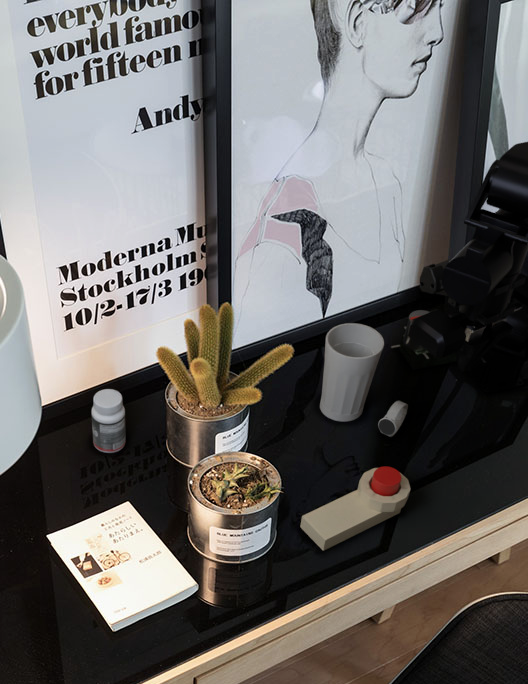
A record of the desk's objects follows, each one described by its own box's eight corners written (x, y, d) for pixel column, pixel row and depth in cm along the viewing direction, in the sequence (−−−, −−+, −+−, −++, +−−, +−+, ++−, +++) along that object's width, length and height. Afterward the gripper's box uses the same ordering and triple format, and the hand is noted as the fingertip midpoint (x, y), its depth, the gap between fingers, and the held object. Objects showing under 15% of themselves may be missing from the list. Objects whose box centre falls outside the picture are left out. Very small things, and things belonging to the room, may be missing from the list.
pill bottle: (93, 432, 138) (90, 386, 132) (125, 431, 138) (124, 386, 132) (93, 454, 136) (90, 409, 129) (125, 453, 136) (124, 408, 129)
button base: (382, 482, 131) (388, 461, 128) (413, 511, 127) (420, 490, 124) (296, 523, 127) (300, 502, 123) (326, 554, 123) (331, 534, 120)
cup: (366, 391, 143) (382, 324, 133) (369, 426, 138) (386, 359, 128) (313, 388, 143) (325, 321, 134) (314, 424, 139) (326, 357, 129)
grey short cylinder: (374, 437, 137) (380, 410, 133) (390, 418, 139) (397, 392, 135) (392, 445, 135) (399, 419, 131) (408, 426, 138) (416, 399, 134)
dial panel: (464, 331, 151) (469, 314, 149) (488, 362, 146) (494, 345, 144) (376, 347, 149) (380, 331, 147) (398, 380, 144) (402, 363, 142)
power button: (386, 473, 127) (389, 462, 125) (404, 490, 125) (407, 479, 123) (365, 483, 126) (367, 472, 124) (382, 500, 124) (385, 489, 122)
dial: (422, 332, 146) (429, 306, 143) (434, 348, 144) (441, 321, 140) (398, 337, 146) (405, 310, 142) (409, 353, 143) (416, 326, 140)
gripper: (505, 211, 120) (472, 316, 132) (391, 254, 114) (368, 360, 127) (572, 253, 114) (531, 358, 126) (455, 300, 108) (424, 406, 121)
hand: (462, 369), depth 125 cm, fingers closed
